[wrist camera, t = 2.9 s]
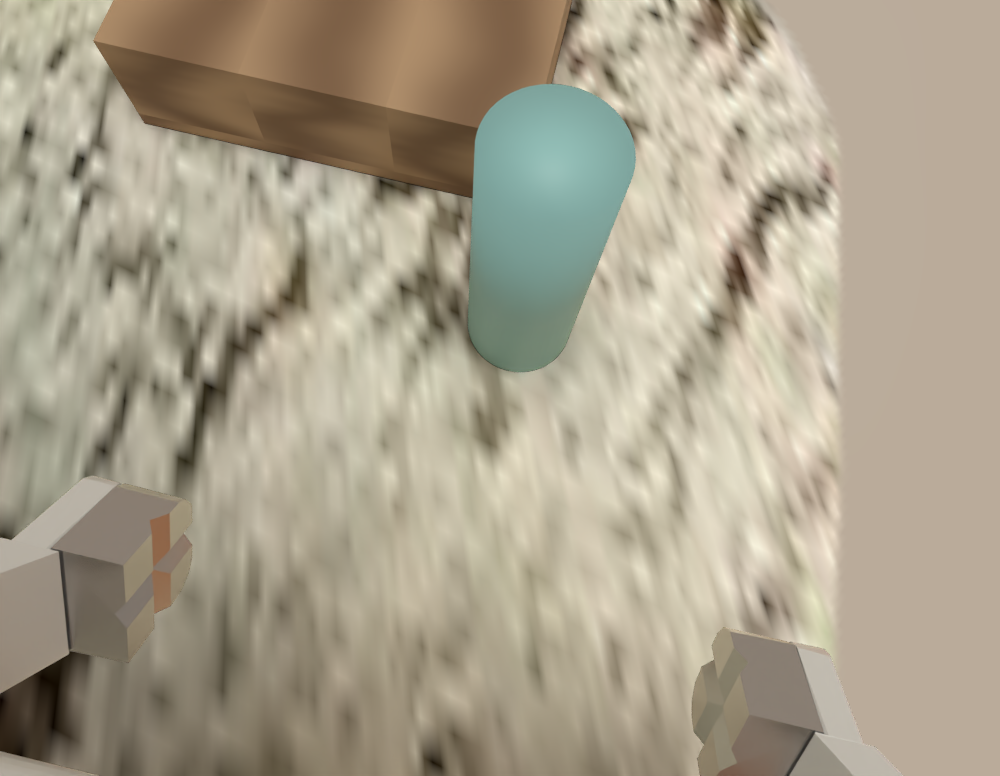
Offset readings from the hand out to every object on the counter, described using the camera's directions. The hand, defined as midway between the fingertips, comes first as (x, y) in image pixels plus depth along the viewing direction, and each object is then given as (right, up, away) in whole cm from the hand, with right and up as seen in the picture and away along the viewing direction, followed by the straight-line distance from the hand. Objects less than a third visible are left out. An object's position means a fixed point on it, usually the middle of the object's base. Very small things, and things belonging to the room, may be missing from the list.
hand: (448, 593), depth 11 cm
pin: (+1, +6, +17) cm, 18 cm away
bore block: (-4, +20, +22) cm, 30 cm away
